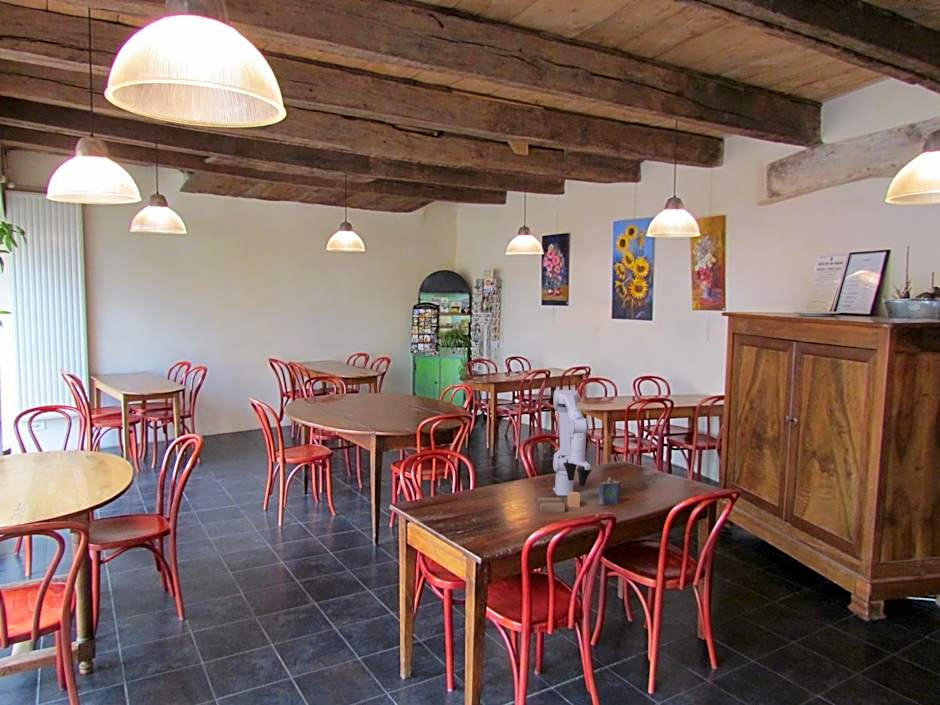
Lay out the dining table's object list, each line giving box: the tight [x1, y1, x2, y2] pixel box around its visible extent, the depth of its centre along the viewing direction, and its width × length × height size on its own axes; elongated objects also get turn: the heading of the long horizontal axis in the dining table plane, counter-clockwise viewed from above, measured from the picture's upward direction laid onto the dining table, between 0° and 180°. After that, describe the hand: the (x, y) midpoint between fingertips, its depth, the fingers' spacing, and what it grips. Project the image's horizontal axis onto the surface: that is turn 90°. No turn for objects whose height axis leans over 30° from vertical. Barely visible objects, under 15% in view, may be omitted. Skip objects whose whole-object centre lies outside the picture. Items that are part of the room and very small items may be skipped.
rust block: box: [566, 491, 581, 508], centre depth 258 cm, size 4×4×5 cm
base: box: [537, 497, 566, 513], centre depth 253 cm, size 9×9×3 cm
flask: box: [597, 477, 621, 506], centre depth 261 cm, size 9×3×11 cm, turn 109°
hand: (576, 483), depth 254 cm, fingers open, 7 cm apart
